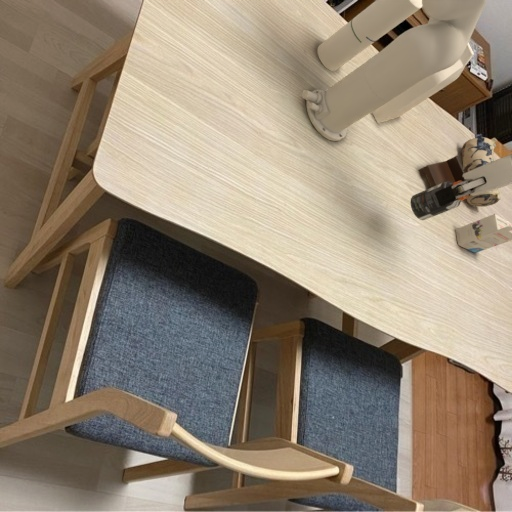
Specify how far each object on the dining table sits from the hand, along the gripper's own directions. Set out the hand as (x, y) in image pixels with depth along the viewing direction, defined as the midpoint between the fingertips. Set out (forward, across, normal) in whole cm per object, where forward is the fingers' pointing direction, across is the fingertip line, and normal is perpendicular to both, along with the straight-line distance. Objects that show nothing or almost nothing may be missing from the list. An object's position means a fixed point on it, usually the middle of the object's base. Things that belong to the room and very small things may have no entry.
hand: (445, 196), depth 121 cm
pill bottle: (+7, 0, 0) cm, 7 cm away
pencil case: (+17, -51, -4) cm, 54 cm away
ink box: (+17, -34, +12) cm, 40 cm away
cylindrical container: (+18, -6, -43) cm, 47 cm away
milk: (+18, -21, -31) cm, 41 cm away
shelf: (+17, -32, -5) cm, 36 cm away
